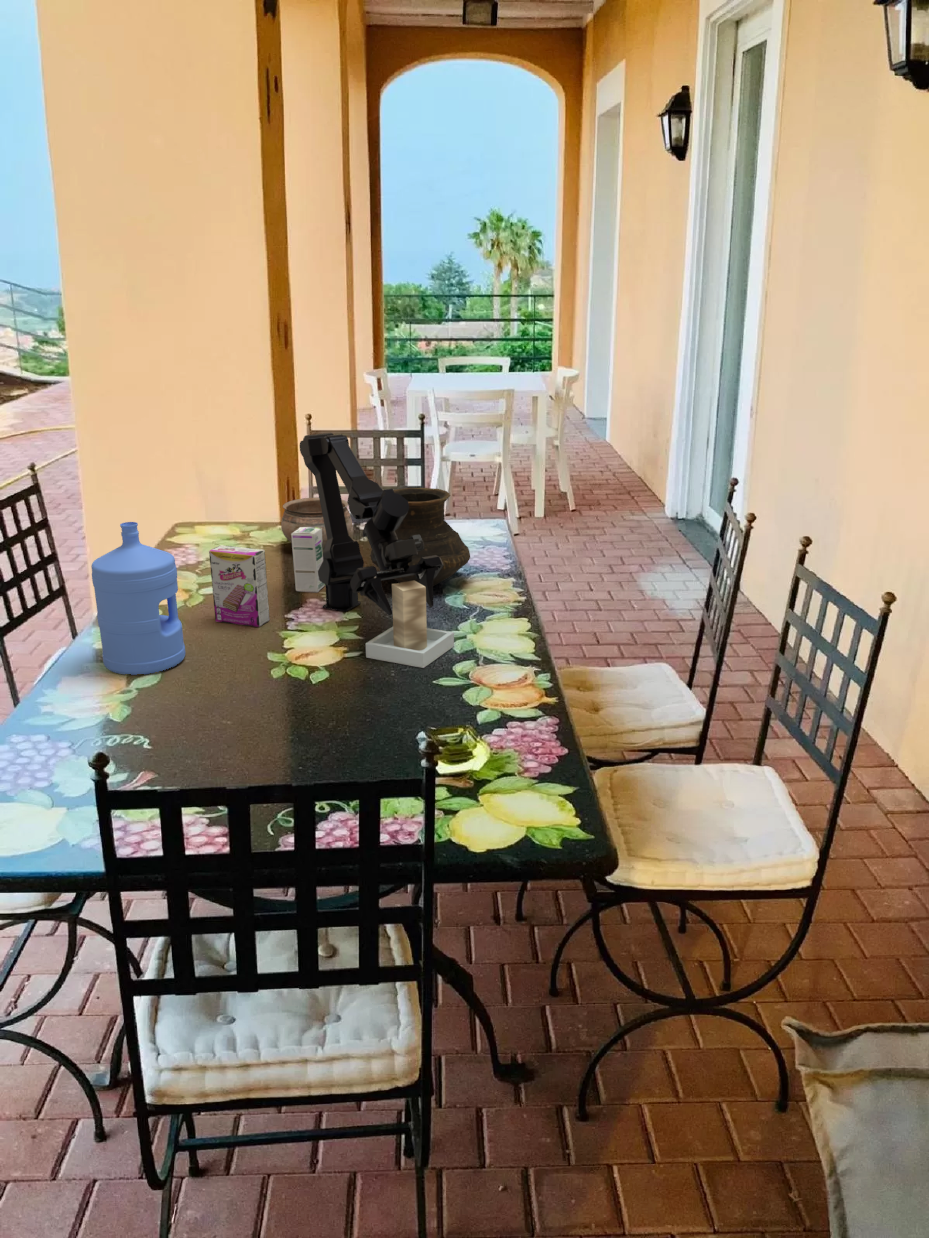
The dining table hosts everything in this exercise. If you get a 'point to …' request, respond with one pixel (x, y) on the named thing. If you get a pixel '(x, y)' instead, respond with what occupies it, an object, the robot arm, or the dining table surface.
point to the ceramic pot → (431, 532)
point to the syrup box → (307, 558)
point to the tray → (387, 651)
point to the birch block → (409, 615)
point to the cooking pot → (307, 516)
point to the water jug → (137, 607)
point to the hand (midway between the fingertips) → (411, 610)
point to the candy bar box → (239, 585)
